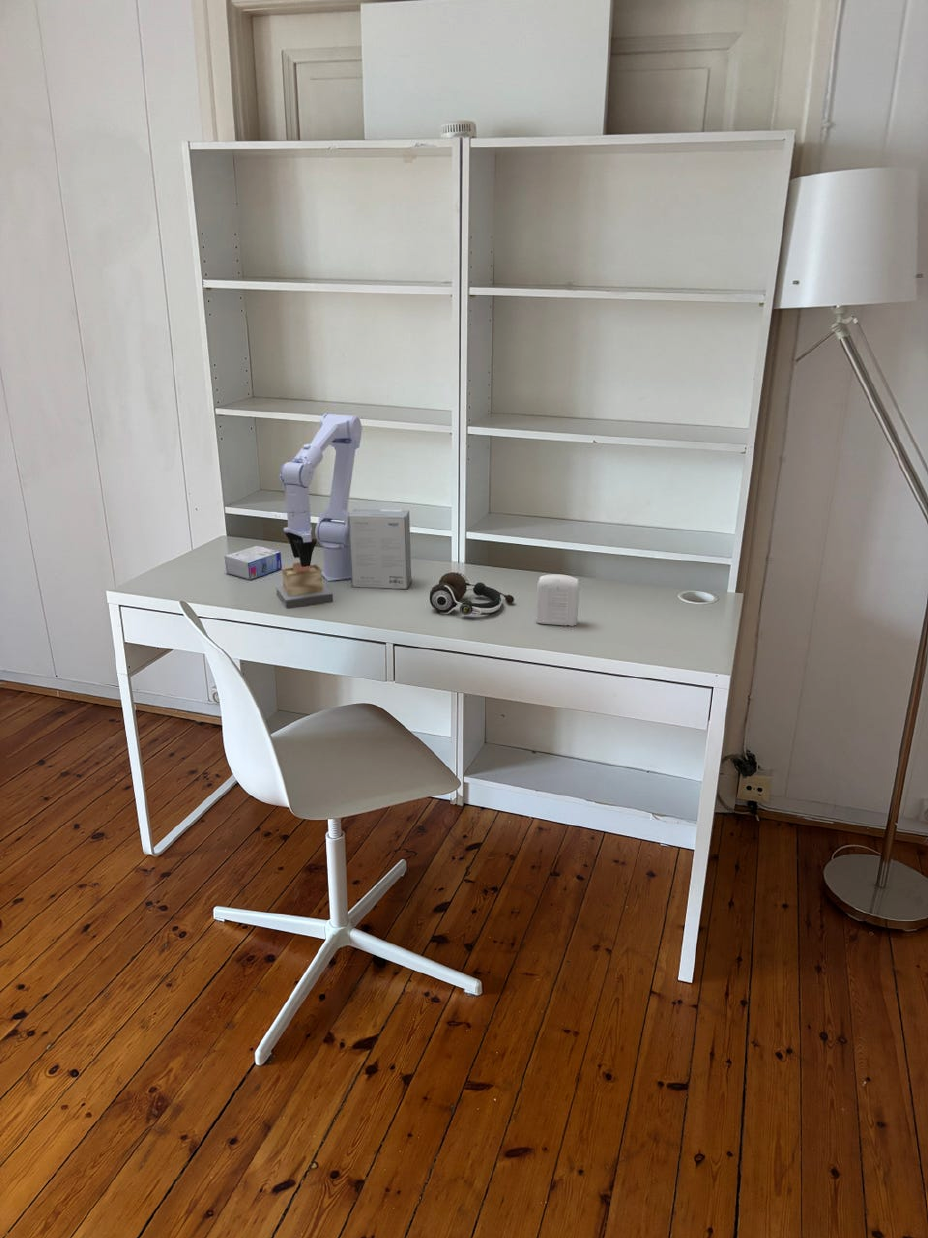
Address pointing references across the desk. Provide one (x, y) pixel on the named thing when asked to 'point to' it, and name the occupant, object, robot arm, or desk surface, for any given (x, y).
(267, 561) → the ink cartridge box
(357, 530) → the hard drive box
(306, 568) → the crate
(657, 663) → the desk surface
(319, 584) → the tan mottled box
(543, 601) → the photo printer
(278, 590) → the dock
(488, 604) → the headset
